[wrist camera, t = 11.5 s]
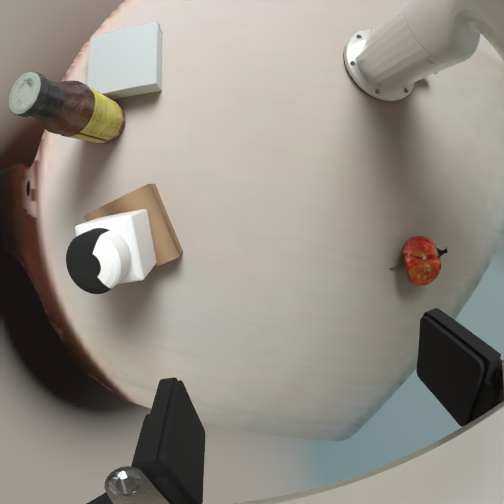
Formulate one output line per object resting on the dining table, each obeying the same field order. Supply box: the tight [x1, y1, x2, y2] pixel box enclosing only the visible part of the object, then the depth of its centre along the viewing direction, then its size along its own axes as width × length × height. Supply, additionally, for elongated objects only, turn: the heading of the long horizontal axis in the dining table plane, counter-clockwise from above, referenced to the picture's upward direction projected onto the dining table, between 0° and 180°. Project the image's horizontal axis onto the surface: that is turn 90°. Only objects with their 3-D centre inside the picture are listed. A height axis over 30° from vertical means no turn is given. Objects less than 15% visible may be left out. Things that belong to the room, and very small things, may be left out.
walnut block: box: [84, 184, 183, 268], centre depth 39 cm, size 10×10×4 cm
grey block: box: [87, 22, 162, 100], centre depth 33 cm, size 10×10×4 cm
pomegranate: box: [390, 236, 447, 286], centre depth 41 cm, size 7×7×10 cm
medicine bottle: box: [66, 209, 157, 294], centre depth 31 cm, size 7×7×12 cm
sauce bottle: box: [9, 72, 125, 143], centre depth 27 cm, size 7×6×20 cm
